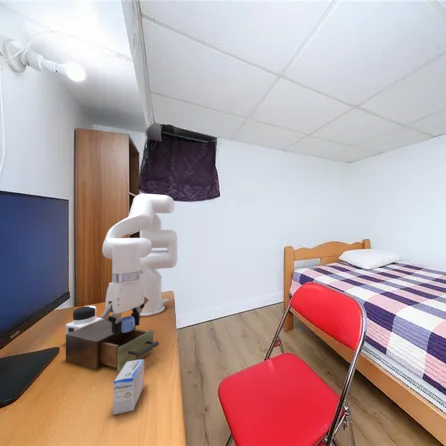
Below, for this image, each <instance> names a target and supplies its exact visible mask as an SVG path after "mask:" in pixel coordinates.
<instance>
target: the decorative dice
mask: <svg viewBox="0 0 446 446" xmlns="http://www.w3.org/2000/svg"><path fill="white" fill-rule="evenodd" d="M119 322H121V323H122V326H121V333H126V332H129V331H131V330H133V329H134V328H135V319H134V317H133V316H131V315H126V316H122V317H121V318H120V321H119Z"/></svg>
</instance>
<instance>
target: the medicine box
mask: <svg viewBox="0 0 446 446" xmlns="http://www.w3.org/2000/svg"><path fill="white" fill-rule="evenodd" d="M112 383H113V384H112V385H113V386H112V387H113V389H112V395H113V396H112V397H113V398H112V415H113V416H114V415H115V416H116V415H120V414H124V413H130V412H133V411H134V410H135V407H136V405H137V403H138V401H139V399H140V396H141V393H142V392H143V389H144V387H145V359H144V358H141V359H139V360H134V361H129V362H126V364H125V365H124V367H123V368H122V370H121V371H120V372H119V373H118V375H117V376H116V377H115V379H114V380H113V382H112Z"/></svg>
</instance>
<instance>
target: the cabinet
mask: <svg viewBox="0 0 446 446" xmlns="http://www.w3.org/2000/svg"><path fill="white" fill-rule="evenodd" d="M134 329H137V326H135V328H134ZM115 335H117V334H113V333H112V322H110V321H108V320H106V319H103V320H102V321H99V322H96V323H94V324H91V325H89V326H86V327H84V328H81V329H79V330H76V331H73V332H71V333H68V334H66V333H65V362H68V363H72V364H74V365H78V366H82V367H85V368H89V369H93V370H96V371H98V370H99V369H100V368H103V367H104V366H106V365H105V364H101V363H99V343H100V342H102V341H105V340H107V339H109V338H111V337H113V336H115Z"/></svg>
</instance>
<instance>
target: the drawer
mask: <svg viewBox="0 0 446 446" xmlns="http://www.w3.org/2000/svg"><path fill="white" fill-rule="evenodd" d="M159 345H160V342H159V341H158V340H156V341H154V330H153V329H151V330H149V331H147V330H143V329H138V328H136V329H133V330H131V331H129V332H126V333H121V334H119V335H115V336H113V337H111V338H109V339H107V340H105V341H102V342H100V343H99V363H101V364H105V365H104V366H109V367H113V368H116V371H117V372H119V373H120V371H121V370H122V368H123V367H124V365H125V364H126V362H129V361H134V360H141V359H143V358H144V357H145V356H147V355H148V354H150V353H152V352H153V351H154V349H155V348H156V347H158V346H159Z"/></svg>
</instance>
